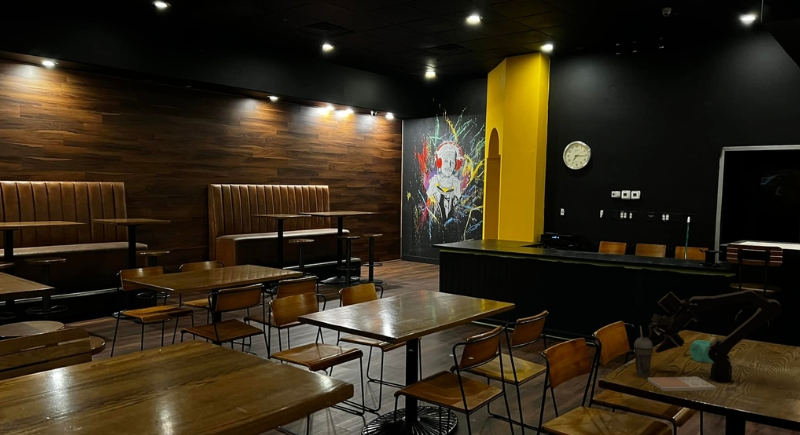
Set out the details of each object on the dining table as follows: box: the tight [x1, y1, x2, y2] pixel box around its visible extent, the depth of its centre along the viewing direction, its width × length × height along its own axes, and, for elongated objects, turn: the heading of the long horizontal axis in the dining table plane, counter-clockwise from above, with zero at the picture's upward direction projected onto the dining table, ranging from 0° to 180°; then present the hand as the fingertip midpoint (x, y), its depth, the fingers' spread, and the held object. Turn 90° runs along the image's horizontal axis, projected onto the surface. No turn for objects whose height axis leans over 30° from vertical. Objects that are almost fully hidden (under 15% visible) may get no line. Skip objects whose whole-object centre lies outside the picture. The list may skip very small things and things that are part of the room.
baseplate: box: [647, 376, 717, 392], centre depth 220 cm, size 20×12×2 cm, turn 93°
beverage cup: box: [633, 325, 654, 379], centre depth 231 cm, size 7×7×20 cm
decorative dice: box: [689, 339, 714, 364], centre depth 253 cm, size 8×8×8 cm
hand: (650, 349), depth 231 cm, fingers open, 9 cm apart
